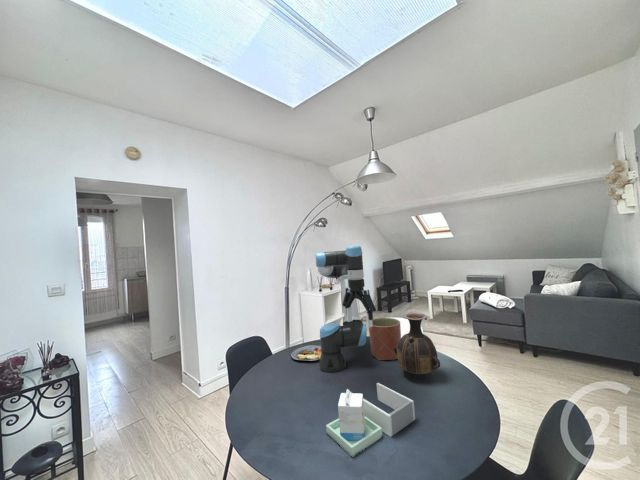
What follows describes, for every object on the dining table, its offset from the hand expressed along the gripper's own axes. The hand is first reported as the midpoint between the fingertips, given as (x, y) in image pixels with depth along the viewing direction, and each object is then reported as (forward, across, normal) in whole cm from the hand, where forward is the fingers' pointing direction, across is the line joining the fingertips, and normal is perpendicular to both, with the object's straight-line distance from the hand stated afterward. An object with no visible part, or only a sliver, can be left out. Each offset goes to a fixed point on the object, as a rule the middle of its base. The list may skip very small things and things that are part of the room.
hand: (359, 324), depth 122 cm
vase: (+31, +8, +30) cm, 44 cm away
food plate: (+31, -52, +4) cm, 61 cm away
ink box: (+30, +18, -23) cm, 42 cm away
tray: (+31, +18, -23) cm, 42 cm away
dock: (+31, +18, -7) cm, 36 cm away
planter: (+31, -19, +37) cm, 52 cm away
